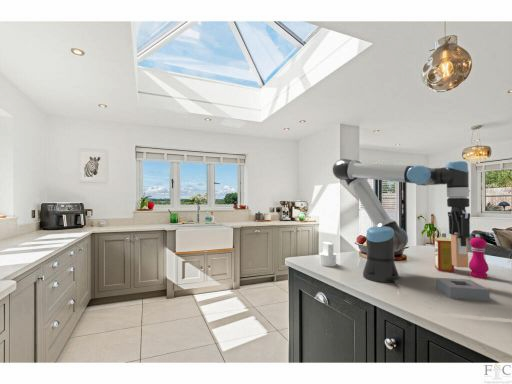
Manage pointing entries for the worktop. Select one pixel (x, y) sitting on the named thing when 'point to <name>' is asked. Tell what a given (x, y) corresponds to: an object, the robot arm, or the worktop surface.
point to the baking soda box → (443, 255)
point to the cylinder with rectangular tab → (327, 255)
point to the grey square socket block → (462, 289)
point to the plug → (457, 259)
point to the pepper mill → (478, 258)
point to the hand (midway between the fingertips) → (459, 252)
